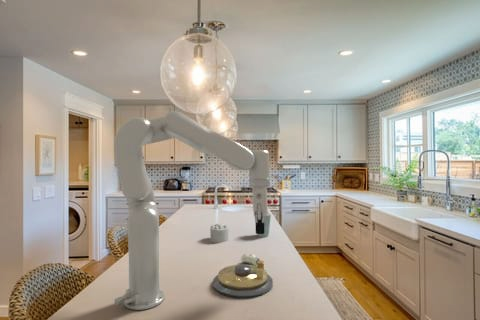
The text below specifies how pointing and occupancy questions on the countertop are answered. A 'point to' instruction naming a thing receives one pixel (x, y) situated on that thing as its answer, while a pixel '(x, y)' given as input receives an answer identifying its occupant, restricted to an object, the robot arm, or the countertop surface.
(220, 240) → the lumpy-topped squat cylinder
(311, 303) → the countertop surface
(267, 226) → the disposable coffee cup
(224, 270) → the lugged brass disc
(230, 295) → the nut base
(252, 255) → the pipe fitting
